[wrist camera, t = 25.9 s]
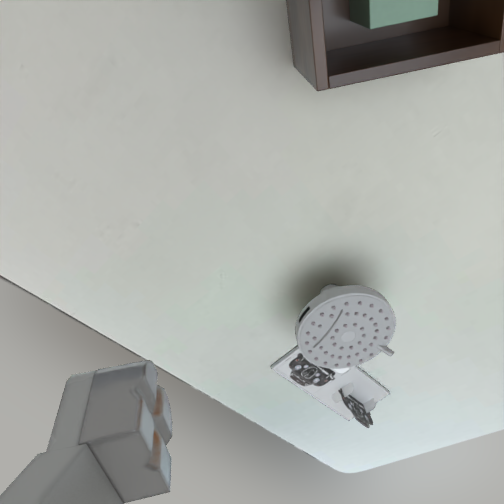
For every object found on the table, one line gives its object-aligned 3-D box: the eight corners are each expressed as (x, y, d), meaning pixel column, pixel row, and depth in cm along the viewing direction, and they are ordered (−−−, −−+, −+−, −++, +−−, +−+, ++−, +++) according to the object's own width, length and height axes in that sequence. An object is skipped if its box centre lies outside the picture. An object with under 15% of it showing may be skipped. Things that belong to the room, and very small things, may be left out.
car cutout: (389, 391, 58) (402, 421, 54) (347, 418, 60) (358, 449, 56) (314, 333, 51) (324, 363, 48) (270, 366, 53) (277, 397, 50)
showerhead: (366, 388, 46) (280, 362, 43) (345, 337, 52) (269, 311, 49) (425, 321, 42) (336, 286, 39) (396, 275, 48) (316, 241, 45)
